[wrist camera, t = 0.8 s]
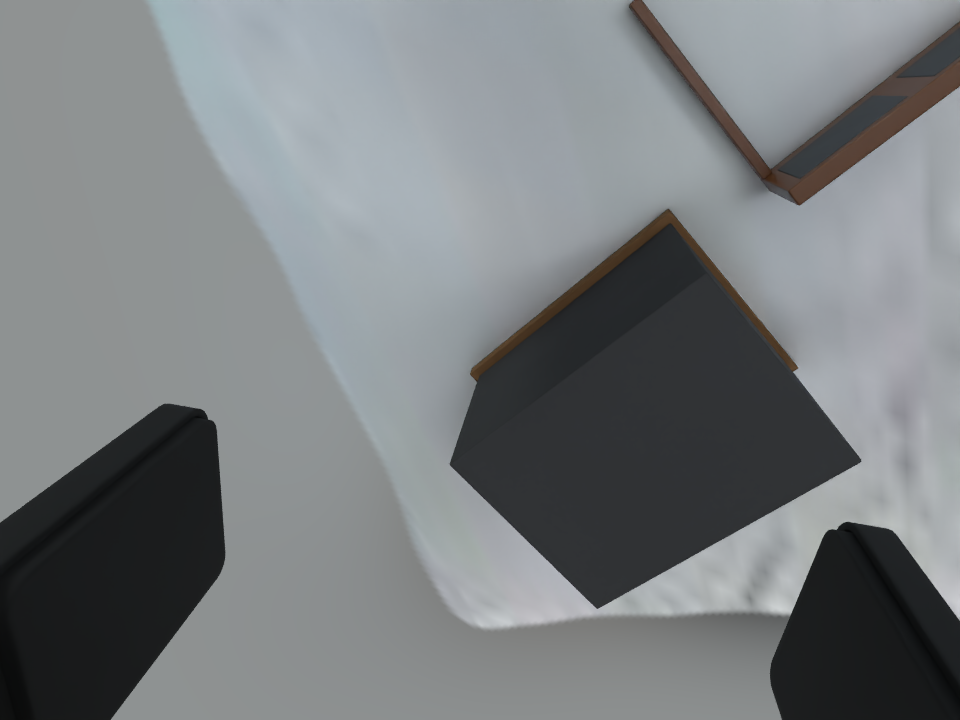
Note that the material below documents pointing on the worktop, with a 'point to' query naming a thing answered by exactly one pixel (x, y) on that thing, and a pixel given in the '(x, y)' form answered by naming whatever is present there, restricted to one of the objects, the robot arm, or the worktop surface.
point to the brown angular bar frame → (848, 135)
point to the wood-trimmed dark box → (642, 419)
